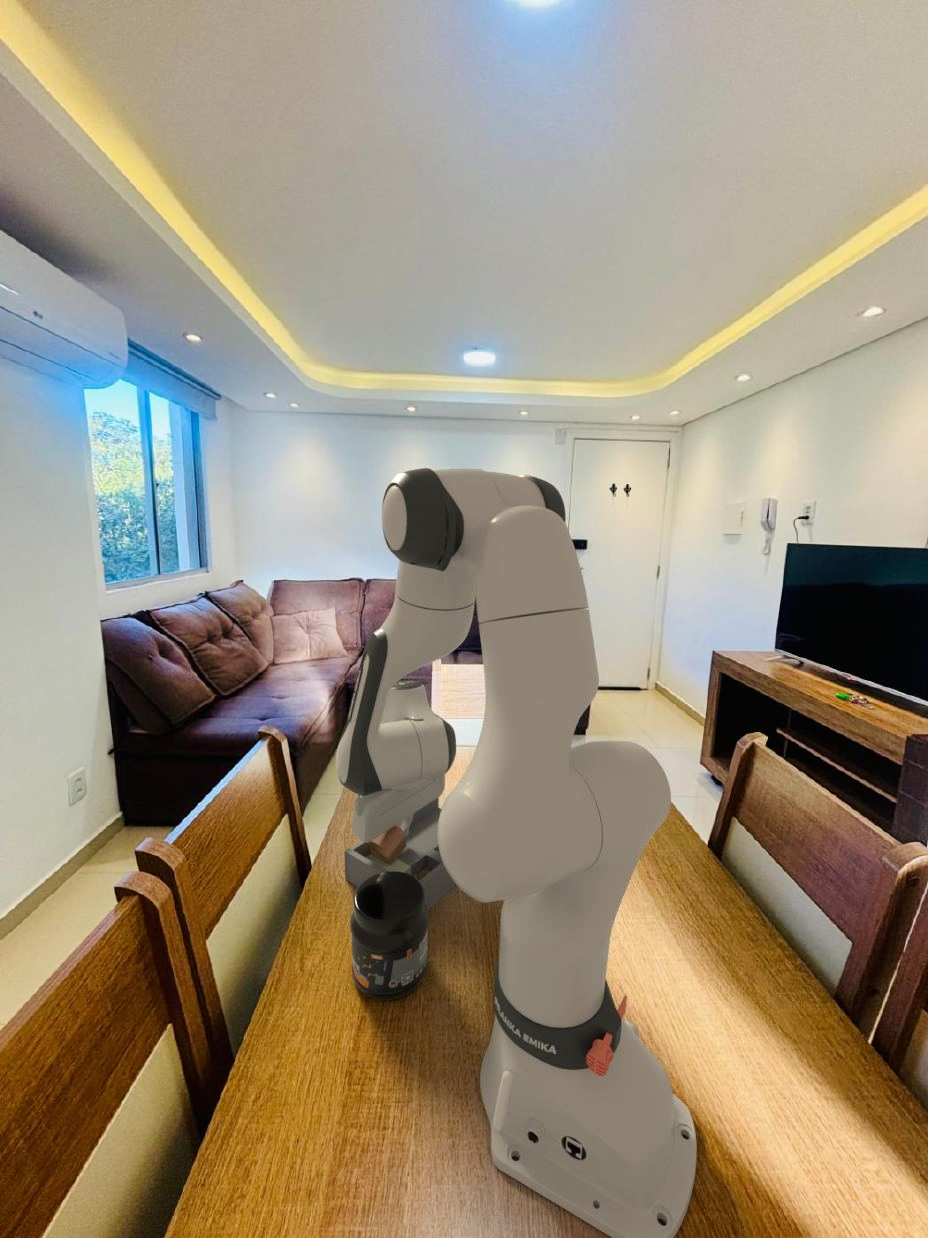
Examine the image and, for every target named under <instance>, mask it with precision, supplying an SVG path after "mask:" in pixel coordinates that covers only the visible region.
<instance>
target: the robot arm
mask: <svg viewBox="0 0 928 1238" xmlns="http://www.w3.org/2000/svg"><path fill="white" fill-rule="evenodd" d="M566 520H567V519H566V507H565V503H564V500H563V497H562V495H561V493H560V491H559V490H558V489H557V487H556V486H554V485H553V484H552V483H551V482H548V481H546V480H544V479H542V478H539V477H536V476H532V475H527V474H522V475H514V474H509V473H504V472H498V471H497V472H496V471H488V470H487V471H485V470H484V469H480V468H447V469H446V468H445V469H436V470H435V469H431V468H429V467H428V468H427V467H424V468H423V467H422V468H417V469H416V468H415V469H411V470H407V471H406V470H405V471H403V472H399V473H398V474H396V475H395V476H394V478H393V479H392V480H391V481H390V482H389V484H388V485H387V488H386V489H385V491H384V495H383V498H382V505H381V526H382V532H383V533H382V534H383V537H384V541H385V544H386V545H387V548H388V550H389V551H390V553H392V554H393V556H395V557H396V558H397V559H398V560H399V562H398V568H397V573H396V575H397V576H396V583H395V593H394V601H393V604H392V607H391V610H390V611H389V614H388V615H387V617H386V618H385V621H383V623H382V625H381V626H380V627H379V628H378V629H376V630H374V631H373V632H371V634H369V637H368V638H367V641H366V643H365V647H364V650H363V653H362V656H361V660H360V664H359V668H358V672H357V674H356V675H357V676H356V680H355V683H354V689H353V692H352V693H353V694H352V697H351V700H350V706H349V708H348V710H349V711H348V714H347V718H346V722H345V726H344V727H343V730H342V733H341V735H340V736H339V740H338V744H337V750H336V755H335V766H336V771H337V776H338V779H339V782H340V784H341V785H342V786H343V787H345V788H346V789H348V791H351V792H353V793H354V794H356V795H357V797H355V800H354V804H353V805H354V807H353V810H352V811H353V812H352V821H351V832H352V834H353V835H354V837H356V838H357V839H359V841H360V840H362V841H364V842H366V843H368V842H370V841H372V840H374V839H375V838H377V837H378V836H380V835H381V834H383V833H384V832H386V831H387V830H389V829H390V828H392V827H393V826H396V827H398V828H400V829H401V830H402V833H403V836H404V837H406V836H407V835H409V827H410V824H411V822H412V820H413V817H414V813H415V812H416V811H418V810H420V809H421V808H423V807H424V806H426V805H427V804H429V803H430V802H432V801H433V800H435V799H436V798H438V797H439V798H440V797H441V796H442V794H443V792H444V790H445V785H446V774H447V773H448V772H449V771H450V769H451V768H452V765H453V764H454V761H455V760H456V759H455V758H456V757H457V756H456V755H457V739H456V737H457V736H456V732H455V730H454V727H453V726H452V725H451V724H450V723H449V722H448V721H446V720H445V719H444V718H442V717H440V716H439V715H438V714H436V713H435V712H434V711H433V709H432V708H431V705H430V704H429V701H428V697H427V692H426V687H425V685H424V684H423V683H421V682H419V681H417V680H416V681H414V680H401V679H402V678H404V677H406V676H407V675H409V674H411V673H413V672H414V671H416V670H418V669H419V668H422V667H424V666H426V665H428V664H431V663H433V662H436V661H438V660H440V659H441V660H442V658H444V657H446V656H448V655H449V654H451V653H452V652H454V651H455V650H456V649H457V648H459V646H461V645H462V643H463V642H464V641H465V640H466V638H467V636H468V634H469V632H470V629H471V625H472V622H473V618H474V611H475V605H476V613H477V621H478V622H477V623H478V628H479V637H480V644H481V645H480V646H481V653H482V663H483V664H482V665H483V673H484V675H483V676H484V677H483V678H484V689H485V690H484V691H485V696H484V697H485V700H484V701H485V702H484V703H485V704H484V705H485V707H484V713H483V721H482V724H481V725H482V726H481V730H480V733H479V734H480V735H479V736H478V737H479V739H478V742H477V743H476V747H475V751H474V752H473V755H472V758H471V760H470V762H469V764H468V766H467V768H466V770H465V772H464V773H463V775H462V776H461V778H460V780H459V781H458V782H457V784H456V785H455V787H454V788H453V789H452V791H450V793H448V795H447V796H446V798H445V799H444V802H443V804H442V806H441V812H440V816H439V821H438V832H437V835H438V847H439V851H440V855H441V859H442V861H443V864H444V866H445V868H446V870H447V872H448V874H449V875H450V877H451V878H452V880H453V881H454V882H455V883H456V884H457V885H456V886H457V887H458V888H459V890H461V891H462V892H464V893H465V894H466V895H468V897H470V898H472V899H473V900H475V901H477V902H478V903H479V902H480V903H491V902H499V901H503V904H502V907H501V912H500V919H499V920H500V921H499V923H500V924H499V925H500V926H499V956H498V959H497V961H496V965H495V970H494V979H493V997H492V998H493V999H492V1000H493V1011H494V1014H495V1015H494V1021H493V1026H492V1031H491V1036H490V1039H489V1044H488V1046H487V1049H486V1050H485V1053H484V1055H483V1058H482V1062H481V1065H480V1074H479V1087H480V1088H479V1089H480V1095H481V1100H482V1103H483V1106H484V1109H485V1113H486V1115H487V1118H488V1122H489V1125H490V1126H489V1127H490V1154H491V1158H492V1163H493V1164H494V1166H495V1167H496V1168H497V1169H498V1170H499V1171H501V1172H502V1173H505V1174H506V1175H508V1176H510V1177H511V1178H513V1179H515V1180H516V1181H518V1182H519V1183H521V1184H523V1185H524V1186H526V1187H528V1188H529V1189H531V1190H532V1191H533V1192H536V1193H538V1194H539V1195H541V1196H542V1197H544V1198H546V1199H548V1200H549V1201H550V1202H553V1203H554V1204H556V1205H557V1206H559V1207H561V1208H562V1209H564V1210H566V1211H567V1212H569V1213H570V1214H572V1215H574V1216H576V1217H578V1218H579V1219H580V1220H582V1221H583V1222H586V1223H587V1224H589V1225H590V1226H592V1227H594V1228H596V1229H597V1230H599V1231H601V1233H604V1234H606V1235H608V1236H609V1237H610V1238H674V1237H675V1236H676V1234H677V1233H678V1231H679V1229H680V1227H681V1226H682V1224H683V1221H684V1219H685V1216H686V1213H687V1211H688V1209H689V1208H688V1207H689V1204H690V1201H691V1197H692V1194H693V1188H694V1183H695V1178H696V1173H697V1172H696V1169H697V1159H698V1157H697V1154H698V1153H697V1150H698V1149H697V1146H698V1145H697V1144H698V1143H697V1135H696V1128H695V1123H694V1120H693V1116H692V1113H691V1111H690V1108H689V1107H688V1106H687V1105H686V1104H685V1103H684V1102H683V1101H682V1100H681V1099H680V1098H679V1097H678V1096H677V1095H675V1094H674V1093H673V1088H672V1084H671V1080H670V1079H669V1076H668V1075H669V1074H668V1073H667V1070H666V1069H665V1067H664V1066H663V1064H662V1063H661V1062H660V1061H659V1060H658V1059H657V1057H656V1056H655V1055H654V1054H653V1053H652V1052H651V1051H650V1050H649V1048H648V1047H647V1046H646V1045H645V1043H643V1042H642V1040H641V1039H640V1033H639V1031H638V1029H637V1027H636V1026H635V1025H634V1024H633V1023H632V1022H630V1021H628V1020H624V1019H623V1018H624V1015H625V1013H626V1009H627V1008H626V1007H627V997H628V996H627V995H626V994H625V995H624V996H623V998H622V1000H621V1002H620V1004H619V1006H618V1008H617V1007H616V1005H615V1000H614V997H613V995H612V992H611V989H610V986H609V983H608V981H607V969H608V961H609V951H610V942H611V937H612V932H613V928H614V923H615V920H616V918H617V914H618V911H619V909H620V905H621V903H622V901H623V898H624V896H625V893H626V892H627V889H628V885H629V883H630V882H631V879H632V876H633V874H634V872H635V869H636V867H637V865H638V863H639V861H640V858H641V856H642V854H643V853H644V850H645V848H646V847H647V846H648V843H649V842H650V840H651V839H652V837H653V836H654V835H655V833H656V832H657V831H658V829H659V828H660V827H661V826H662V824H663V823H664V821H665V820H666V819H667V817H668V815H669V813H670V811H671V806H672V805H671V804H672V794H671V793H672V792H671V787H670V783H669V780H668V778H667V775H666V772H665V771H664V768H663V767H662V765H661V764H660V761H658V760H657V759H656V757H655V756H654V755H653V754H652V753H651V752H650V751H649V750H648V749H646V748H645V747H644V746H642V745H640V744H638V743H635V742H633V741H629V740H598V741H589V742H585V743H582V744H579V745H574V746H572V743H573V738H574V735H575V731H576V729H577V728H576V727H577V726H578V724H579V720H580V719H581V717H582V716H583V714H584V713H585V711H586V710H587V709H588V707H589V706H590V705H591V703H592V702H593V701H594V699H595V697H596V695H597V692H598V689H599V683H600V677H599V676H600V675H599V670H598V668H599V667H598V662H597V656H596V649H595V642H594V635H593V627H592V621H591V617H590V616H591V615H590V609H589V602H588V596H587V589H586V586H585V582H584V575H583V572H582V568H581V565H580V562H579V557H578V554H577V551H576V548H575V545H574V542H573V539H572V536H571V534H570V531H569V529H568V526H567V524H566ZM684 1136H685V1137H686V1138H687V1139H686V1138H684ZM513 1157H516V1158H518V1160H514V1159H513ZM658 1220H662V1221H663V1222H664V1224H665V1225H662V1224H661V1223H660V1222H659V1221H658Z"/></svg>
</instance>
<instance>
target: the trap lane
mask: <svg viewBox="0 0 928 1238" xmlns="http://www.w3.org/2000/svg"><path fill="white" fill-rule="evenodd" d="M439 798H440V797H438V798H436V799H435V800H433V801H432V802H430V803H429V804H427V805H426V806H424V807H423V808H421V809H420V810H418V811H416V812H415V813H414V817H413V820H412V822H411V824H410V827H409V835H407V836H406V837H404V839H405V842H406V845H407V847H406V848H405V849H404V850H403V851H402V852H401V854H400V855H399V856H398V857H397V858H396V859H395V861H394V862H393V863H392V864H391V865H389V864H387V863H385V862H383V861H382V860H380V859H378V858H376V857H375V856H373V855H372V852H371V850H370V847H369V844H368V843H366V842H364V841H362V840H360V839H359V841H357V842H355V843H354V844H353V845H351V846H350V847H348V848H347V849H345V850H344V876H345V877H344V879H345V881H348V882H349V883H351V884H352V885H354V886H355V887H357V888H358V887H359V886H360V885H361V884H362V883H363V882H364V881H365V880H366V879H368V878H370V877H371V876H373V875H376V874H379V873H382V872H389V871H398V872H404V873H407V874H410V875H412V876H414V877H415V878H416V876H417V875H418V874H420V873H421V872H422V871H424V870H425V869H426V868H427V869H429V870H431V871H429V872H428V873H427V874H426V875H425V876H424V877H422V878H421V879H420V880H419V881H420V882H421V884H422V885H423V887H424V891H425V904H426V906H427V909H428V911H429V910H430V909H432V908H433V906H435V905H436V904H437V903H439V901H440V900H441V899H442V898H443V897H444V896H446V895H447V894H448V893H449V892H450V891H451V890H452V889H453V888H454V887H456V886H457V884H456V883H455V882H454V881H453V880H452V878H451V877H450V875H449V874H448V872H447V870H446V868H445V866H444V864H443V861H442V859H441V855H440V851H439V847H438V835H437V832H438V821H439V816H440V812H441V809H442V807H439V806H440V805H439Z"/></svg>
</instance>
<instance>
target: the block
mask: <svg viewBox="0 0 928 1238" xmlns="http://www.w3.org/2000/svg"><path fill="white" fill-rule="evenodd" d="M368 844H369V847H370V850H371V852H372V855H373V856H375V857H376V858H378V859H380V860H382V861H383V862H385V863H387V864H389V865H391V864H392V863H393V862H394V861H395V859H396V858H397V857H398V856H399V855H400V854H401V852H402V851H403V850H404V849H405V848H406V847H407V845H406V842H405V839H404V836H403V833H402V830H401V829H400V828H398V827H396V826H393V827H392V828H390V829H389V830H387V831H386V832H384V833H383V834H381V835H380V836H378V837H377V838H375V839H374V840H372V841H370V842H368Z"/></svg>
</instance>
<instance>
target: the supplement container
mask: <svg viewBox="0 0 928 1238" xmlns="http://www.w3.org/2000/svg"><path fill="white" fill-rule="evenodd" d="M352 905H353V911H352V913H351V915H350V920H349V927H350V933H351V973H352V978H353V981H354V983H355V985H356V986H357V988H358V989H359V990H360V991H361V992H362V993H363V994H365V995H366V996H368V997H370V998H372V999H376V1000H380V1001H390V1000H396V999H400V998H403V997H404V996H407V995H408V994H410V993H412V992H413V991H414V990H415V989H417V988H418V986H419V985H420V984H421V983H422V981H423V980H424V978H425V975H426V973H427V970H428V965H429V953H428V948H429V947H428V940H429V939H428V935H429V934H428V933H429V930H428V928H429V927H428V926H429V920H430V919H429V917H430V916H429V910H428V909H427V906H426V904H425V891H424V887H423V885H422V884H421V882H420V880H419V879H418V878H417V877H416V876H415V877H414V876H412V875H410V874H407V873H404V872H398V871H389V872H382V873H379V874H376V875H373V876H371V877H370V878H368V879H366V880H365V881H364V882H363V883H362V884H361V885H360V886H359V887H357V888H356V890H355V892H354V894H353V901H352Z"/></svg>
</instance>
